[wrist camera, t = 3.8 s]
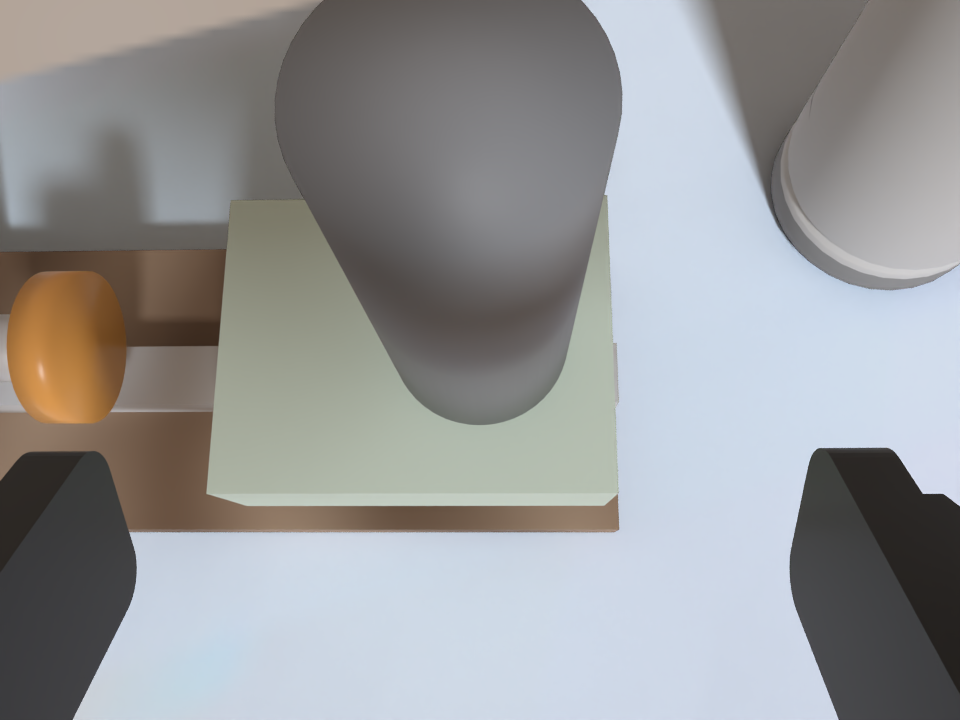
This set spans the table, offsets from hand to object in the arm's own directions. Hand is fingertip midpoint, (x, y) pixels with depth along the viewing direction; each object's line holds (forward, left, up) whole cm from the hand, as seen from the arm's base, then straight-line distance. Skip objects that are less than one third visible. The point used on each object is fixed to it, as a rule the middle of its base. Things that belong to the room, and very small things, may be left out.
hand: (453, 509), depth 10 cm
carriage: (+1, -5, -12) cm, 13 cm away
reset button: (+11, -5, -11) cm, 16 cm away
